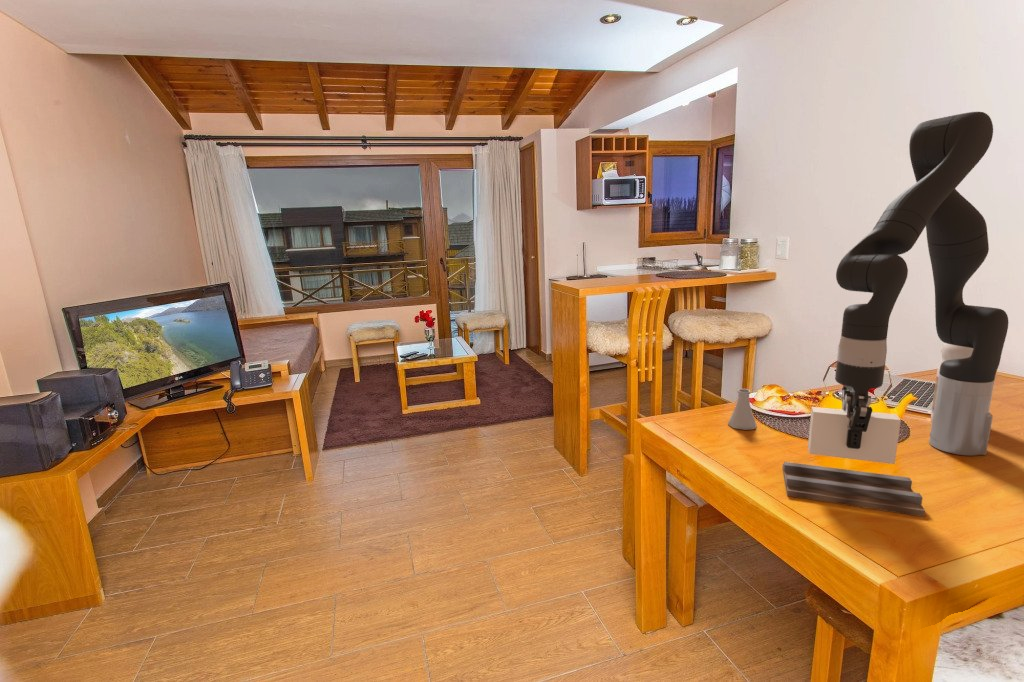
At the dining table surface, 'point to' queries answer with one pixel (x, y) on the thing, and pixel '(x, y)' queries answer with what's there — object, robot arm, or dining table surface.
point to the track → (853, 498)
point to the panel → (832, 436)
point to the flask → (742, 412)
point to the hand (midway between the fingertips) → (851, 443)
